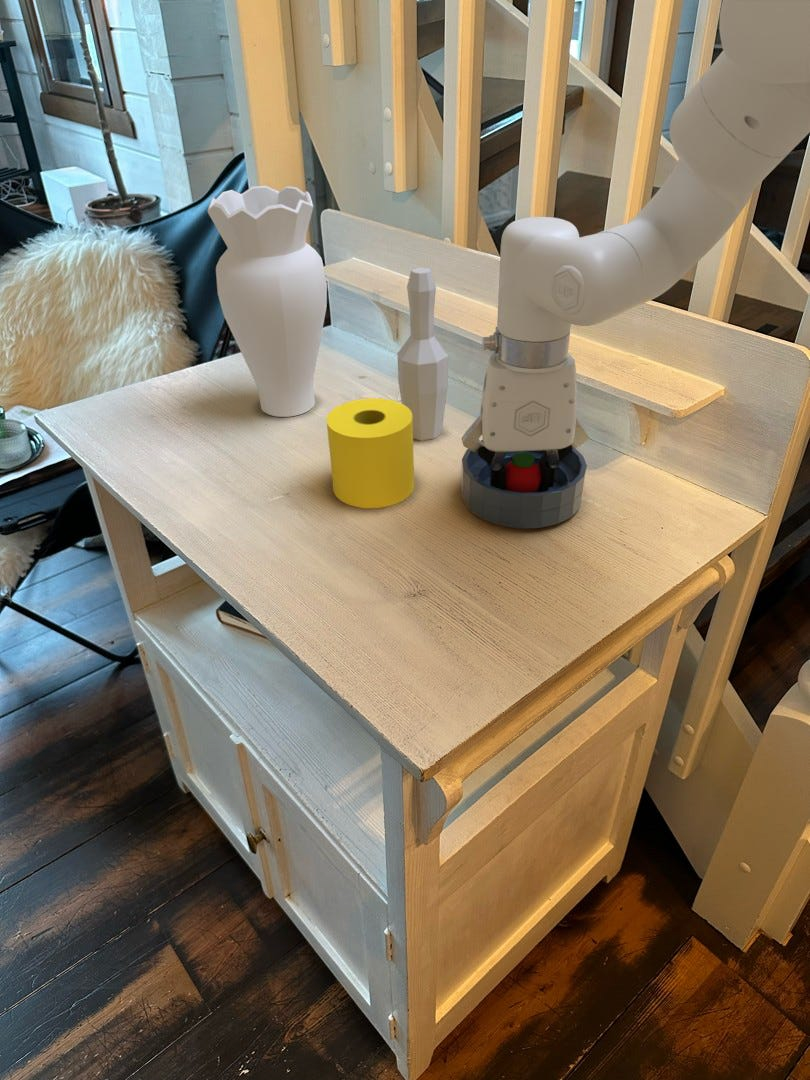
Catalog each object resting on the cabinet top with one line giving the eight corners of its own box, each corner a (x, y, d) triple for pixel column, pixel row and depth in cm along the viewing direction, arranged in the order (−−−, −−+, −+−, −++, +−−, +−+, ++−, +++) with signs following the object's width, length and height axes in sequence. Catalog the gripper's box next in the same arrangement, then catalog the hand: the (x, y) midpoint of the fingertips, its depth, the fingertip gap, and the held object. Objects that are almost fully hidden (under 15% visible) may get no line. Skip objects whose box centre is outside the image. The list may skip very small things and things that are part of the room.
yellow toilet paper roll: (357, 517, 88) (352, 446, 83) (319, 480, 95) (312, 412, 90) (429, 491, 92) (428, 422, 87) (388, 457, 99) (384, 391, 94)
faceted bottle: (456, 434, 104) (457, 271, 91) (418, 448, 101) (414, 282, 88) (429, 417, 108) (427, 259, 95) (392, 430, 105) (385, 269, 93)
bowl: (588, 476, 94) (593, 440, 91) (572, 541, 83) (577, 503, 80) (476, 461, 98) (477, 426, 95) (448, 522, 87) (448, 485, 84)
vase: (222, 424, 108) (181, 208, 91) (259, 381, 120) (229, 182, 103) (320, 432, 106) (296, 210, 88) (348, 387, 117) (332, 183, 100)
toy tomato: (543, 486, 91) (546, 450, 88) (536, 507, 88) (540, 470, 85) (505, 481, 93) (507, 445, 90) (497, 501, 89) (499, 464, 86)
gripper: (455, 363, 76) (453, 513, 87) (621, 356, 76) (599, 507, 87) (448, 335, 82) (447, 479, 93) (603, 329, 83) (584, 473, 93)
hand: (520, 491), depth 90 cm, fingers closed on toy tomato, 4 cm apart
